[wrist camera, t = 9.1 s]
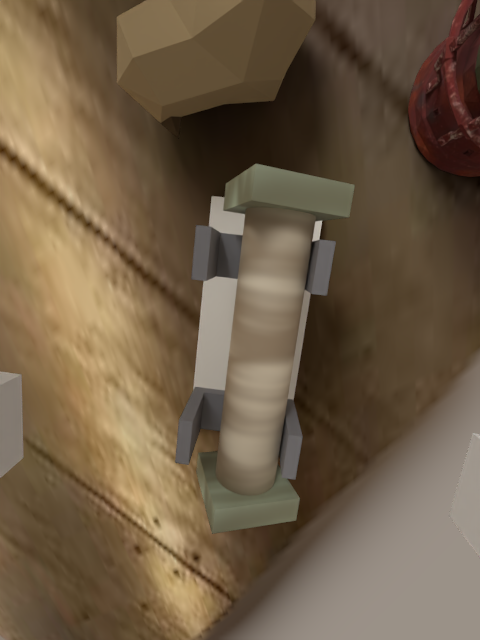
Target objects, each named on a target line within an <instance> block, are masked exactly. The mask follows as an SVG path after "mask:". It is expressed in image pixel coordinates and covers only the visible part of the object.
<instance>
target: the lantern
mask: <svg viewBox="0 0 480 640" xmlns="http://www.w3.org/2000/svg"><path fill="white" fill-rule="evenodd" d="M476 4H477V0H462V2H461V4H460V6H459V8H458V10H457V13H456V15H455V17H454V19H453V22H452V26H451V29H450V33H449V37H448V38H446V39H445V40H444V41H443V42H442V43H441V44H440V45H438V46H437V47H436V48H435V49H434V51H433V52H432V53H431V54H430V56H429V57H428V58H427V59H426V61H425V62H424V63H423V65H422V67H421V68H420V70H419V72H418V74H417V76H416V79H415V82H414V85H413V88H412V91H411V95H410V101H409V108H408V112H409V122H410V131H411V133H412V135H413V138H414V140H415V142H416V145H417V147H418V149H419V151H420V152H421V153H422V154H423V156H424V157H425V158H426V159H427V160H428V161H429V162H431V163H432V164H433V165H435V166H436V167H438V168H439V169H440V170H442V171H445V172H449V173H452V174H455V175H459V176H467V177H475V176H480V14H479V15H478V16H477V17H476V18H475V19H474V14H475V9H476ZM469 7H470V8H469ZM468 9H469V14H468V20H467V22H466V23H465V24H464V21H465V18H466V15H467V12H468ZM473 19H474V20H473ZM463 24H464V25H463Z"/></svg>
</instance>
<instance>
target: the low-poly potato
mask: <svg viewBox="0 0 480 640" xmlns="http://www.w3.org/2000/svg"><path fill="white" fill-rule="evenodd" d="M315 11H316V0H146V1H144V2H142V3H141V4H139V5H137V6H135V7H133V8H131V9H130V10H128V11H126V12H124V13H122V14H120V15H119V16H117V84H118V85H119V86H120V87H121V88H123V89H124V90H125V91H126V92H127V93H128V94H129V95H130V96H131V97H132V98H133V99H135V100H136V101H137V102H138V103H139V104H140V105H141V106H142V107H143V108H144V109H146V110H147V111H148V112H149V113H150V114H151V115H152V116H153V117H154V118H155V119H156V120H158V121H159V122H160V123H161V124H162V125H163V126H164V127H166V128H167V129H168V130H169V131H170V132H171V133H173V134H174V135H175V136H176V137H177V138H178V139H179V133H180V124H181V117H183V116H186V115H189V114H193V113H196V112H200V111H203V110H206V109H210V108H213V107H217V106H220V105H223V104H235V103H249V102H263V101H274V100H275V97H276V95H277V93H278V90H279V88H280V86H281V83H282V81H283V78H284V76H285V74H286V71H287V69H288V68H289V66H290V64H291V62H292V60H293V59H294V57H295V55H296V53H297V52H298V50H299V48H300V46H301V44H302V43H303V41H304V39H305V37H306V36H307V34H308V32H309V30H310V29H311V27H312V25H313V23H314V21H315Z"/></svg>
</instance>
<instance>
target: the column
mask: <svg viewBox="0 0 480 640" xmlns="http://www.w3.org/2000/svg"><path fill="white" fill-rule="evenodd" d="M354 187H355V185H353V184H348V183H344V182H339V181H334V180H330V179H325V178H320V177H316V176H311V175H307V174H302V173H297V172H293V171H288V170H283V169H279V168H274V167H269V166H265V165H260V164H255V165H253V166H252V167H250V168H249V169H247V170H246V171H244V172H243V173H241V174H240V175H238V176H237V177H235V178H234V179H232V180H231V181H229V182H228V183H226V188H225V198H224V207H223V211H228V212H234V213H240V214H245V220H244V228H243V237H242V246H241V254H240V263H239V272H238V281H237V289H236V298H235V307H234V315H233V324H232V333H231V341H230V350H229V359H228V367H227V376H226V385H225V393H224V402H223V411H222V419H221V428H220V437H219V445H218V451H215V452H202V453H198V461H197V471H196V473H197V477H198V481H199V485H200V488H201V492H202V496H203V500H204V504H205V508H206V512H207V516H208V519H209V523H210V527H211V531H212V534H214V533H220V532H226V531H233V530H239V529H245V528H252V527H258V526H265V525H271V524H277V523H284V522H290V521H296V518H297V512H298V506H299V501H300V498H299V496H298V495H297V493H296V492H295V490H294V488H293V487H292V485H291V484H290V482H289V481H288V479H287V478H282V474H281V468H280V466H279V465H278V457H279V451H280V445H281V438H282V432H283V425H284V419H285V413H286V406H287V400H288V393H289V387H290V381H291V374H292V368H293V361H294V355H295V349H296V342H297V336H298V329H299V323H300V317H301V310H302V304H303V297H304V291H305V285H306V278H307V272H308V265H309V259H310V253H311V246H312V240H313V233H314V227H315V221H324V220H332V219H340V218H349V215H350V210H351V204H352V198H353V192H354Z"/></svg>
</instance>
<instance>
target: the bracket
mask: <svg viewBox="0 0 480 640" xmlns="http://www.w3.org/2000/svg"><path fill="white" fill-rule="evenodd" d="M224 198H225V197H217V196H212V198H211V208H210V219H209V226H201V225H196V232H195V244H194V255H193V266H192V278H191V279H194V280H202V281H204V282H203V293H202V303H201V314H200V324H199V335H198V345H197V356H196V366H195V377H194V387H193V392H192V394H191V396H190V398H189V400H188V403H187V405H186V407H185V409H184V411H183V413H182V415H181V417H180V419H179V426H178V437H177V449H176V460H175V463H180V464H187V465H189V462H190V459H191V456H192V453H193V450H194V447H195V444H196V441H197V438H198V435H199V432H200V429H208V430H215V431H220V428H221V419H222V411H223V402H224V393H225V385H226V376H227V367H228V359H229V350H230V341H231V333H232V324H233V315H234V307H235V298H236V289H237V281H238V272H239V263H240V254H241V246H242V237H243V228H244V220H245V214H240V213H234V212H228V211H223V207H224ZM321 226H322V221H315V227H314V233H313V240H312V246H311V253H310V259H309V265H308V272H307V278H306V285H305V291H304V297H303V304H302V310H301V317H300V323H299V329H298V336H297V342H296V349H295V355H294V361H293V368H292V374H291V381H290V387H289V393H288V400H287V406H286V413H285V419H284V425H283V432H282V438H281V445H280V451H279V456H280V465H281V474H282V478H287V479H294V480H295V479H296V473H297V467H298V461H299V455H300V449H301V443H302V438H303V436H302V432H301V428H300V424H299V420H298V416H297V412H296V408H295V404H294V395H295V388H296V382H297V376H298V370H299V363H300V357H301V351H302V345H303V338H304V332H305V326H306V320H307V313H308V307H309V301H310V295H311V294H317V295H325V296H327V290H328V284H329V279H330V273H331V267H332V261H333V255H334V249H335V243H336V241H329V240H319V238H320V232H321Z"/></svg>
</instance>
